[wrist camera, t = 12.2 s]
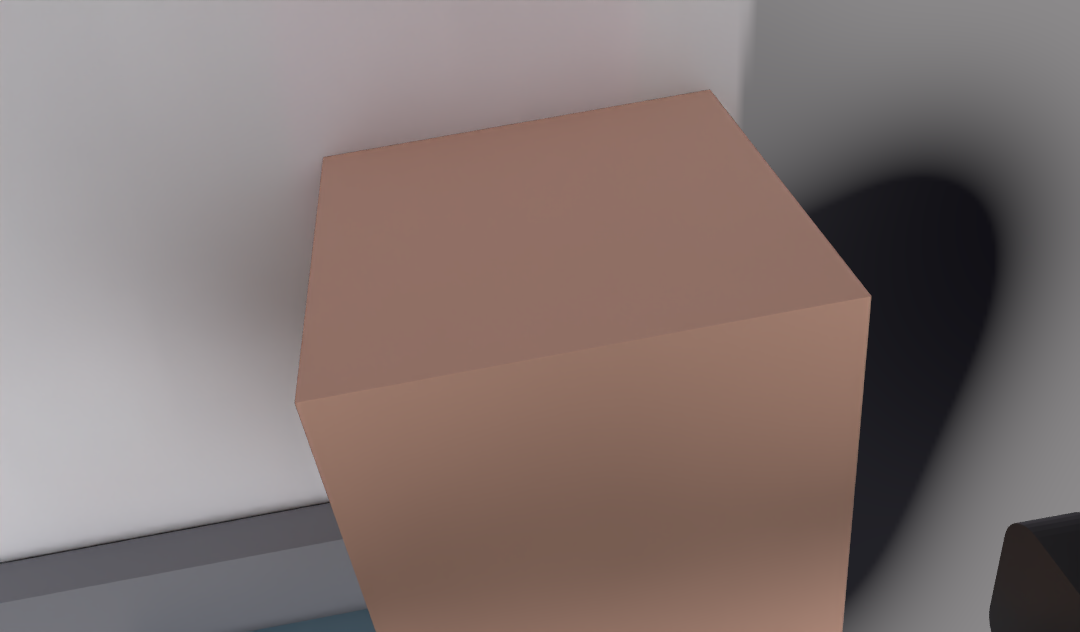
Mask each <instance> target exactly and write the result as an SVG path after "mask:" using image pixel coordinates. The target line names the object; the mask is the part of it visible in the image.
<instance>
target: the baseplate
mask: <svg viewBox="0 0 1080 632" xmlns="http://www.w3.org/2000/svg"><path fill="white" fill-rule="evenodd" d="M0 632H376V631H375V628H374V625H373V622H372V620H371V617H370V614H369V611H368V608H367V605H366V603H365V600H364V597H363V594H362V591H361V589H360V586H359V583H358V580H357V577H356V575H355V572H354V569H353V566H352V563H351V560H350V558H349V555H348V552H347V549H346V546H345V544H344V541H343V538H342V535H341V532H340V529H339V527H338V524H337V521H336V518H335V515H334V513H333V510H332V507H331V504H330V503H327V504H321V505H316V506H311V507H305V508H300V509H294V510H289V511H284V512H278V513H273V514H267V515H262V516H257V517H251V518H246V519H240V520H235V521H230V522H224V523H219V524H213V525H208V526H203V527H197V528H192V529H186V530H181V531H176V532H170V533H165V534H159V535H154V536H149V537H143V538H138V539H132V540H127V541H122V542H116V543H111V544H105V545H100V546H95V547H89V548H84V549H78V550H73V551H68V552H62V553H57V554H51V555H46V556H41V557H35V558H30V559H24V560H19V561H14V562H8V563H3V564H0Z"/></svg>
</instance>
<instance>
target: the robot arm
mask: <svg viewBox="0 0 1080 632" xmlns="http://www.w3.org/2000/svg"><path fill="white" fill-rule="evenodd" d="M989 619H990V627H991V632H1080V512H1074V513H1070V514H1063V515H1058V516H1053V517H1047V518H1042V519H1036V520H1030V521H1025V522H1020V523H1014V524H1012V525H1010V526H1009V527H1008V529H1007V531H1006V534H1005V537H1004V542H1003V547H1002V552H1001V556H1000V561H999V566H998V571H997V576H996V580H995V585H994V590H993V595H992V600H991V605H990V611H989Z"/></svg>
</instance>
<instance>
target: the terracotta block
mask: <svg viewBox="0 0 1080 632" xmlns="http://www.w3.org/2000/svg"><path fill="white" fill-rule="evenodd" d="M870 304H871V295H870V294H869V293H868V291H867V290H866V289H865V288H864V286H863V285H862V284H861V282H860V281H859V280H858V279H857V277H856V276H855V275H854V273H853V272H852V271H851V270H850V268H849V267H848V266H847V264H846V263H845V262H844V261H843V259H842V258H841V257H840V256H839V255H838V253H837V252H836V250H835V249H834V248H833V247H832V245H831V244H830V243H829V242H828V240H827V239H826V238H825V236H824V235H823V234H822V232H821V231H820V230H819V229H818V227H817V226H816V225H815V224H814V222H813V221H812V220H811V218H810V217H809V216H808V215H807V213H806V212H805V211H804V209H803V208H802V207H801V206H800V204H799V203H798V202H797V200H796V199H795V198H794V197H793V195H792V194H791V193H790V191H789V190H788V189H787V188H786V186H785V185H784V184H783V183H782V181H781V180H780V179H779V177H778V176H777V175H776V174H775V172H774V171H773V170H772V168H771V167H770V166H769V165H768V163H767V162H766V161H765V160H764V158H763V157H762V156H761V154H760V153H759V152H758V151H757V149H756V148H755V147H754V146H753V144H752V143H751V142H750V140H749V139H748V138H747V136H746V135H745V134H744V133H743V131H742V130H741V129H740V127H739V126H738V125H737V124H736V122H735V121H734V120H733V118H732V117H731V116H730V115H729V113H728V112H727V111H726V110H725V108H724V107H723V106H722V104H721V103H720V102H719V101H718V99H717V98H716V97H715V95H714V94H713V93H712V92H711V90H705V91H699V92H693V93H688V94H682V95H676V96H670V97H665V98H659V99H653V100H648V101H642V102H636V103H630V104H625V105H619V106H613V107H608V108H602V109H596V110H590V111H585V112H579V113H573V114H568V115H562V116H556V117H550V118H545V119H539V120H533V121H528V122H522V123H516V124H510V125H505V126H499V127H493V128H488V129H482V130H476V131H470V132H465V133H459V134H453V135H448V136H442V137H436V138H430V139H425V140H419V141H413V142H408V143H402V144H396V145H390V146H385V147H379V148H373V149H368V150H362V151H356V152H350V153H345V154H339V155H333V156H328V157H323V163H322V172H321V181H320V189H319V198H318V206H317V215H316V224H315V232H314V241H313V249H312V258H311V267H310V275H309V284H308V292H307V301H306V310H305V318H304V327H303V335H302V344H301V353H300V361H299V370H298V378H297V387H296V396H295V406H296V408H297V411H298V414H299V417H300V420H301V422H302V425H303V428H304V431H305V434H306V437H307V439H308V442H309V445H310V448H311V451H312V453H313V456H314V459H315V462H316V465H317V467H318V470H319V473H320V476H321V479H322V482H323V484H324V487H325V490H326V493H327V496H328V498H329V501H330V504H331V507H332V510H333V513H334V515H335V518H336V521H337V524H338V527H339V529H340V532H341V535H342V538H343V541H344V544H345V546H346V549H347V552H348V555H349V558H350V560H351V563H352V566H353V569H354V572H355V575H356V577H357V580H358V583H359V586H360V589H361V591H362V594H363V597H364V600H365V603H366V605H367V608H368V611H369V614H370V617H371V620H372V622H373V625H374V628H375V631H376V632H842V628H843V617H844V606H845V594H846V582H847V570H848V559H849V548H850V536H851V525H852V513H853V502H854V490H855V478H856V467H857V456H858V444H859V432H860V421H861V409H862V398H863V386H864V374H865V362H866V352H867V340H868V329H869V317H870Z"/></svg>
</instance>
